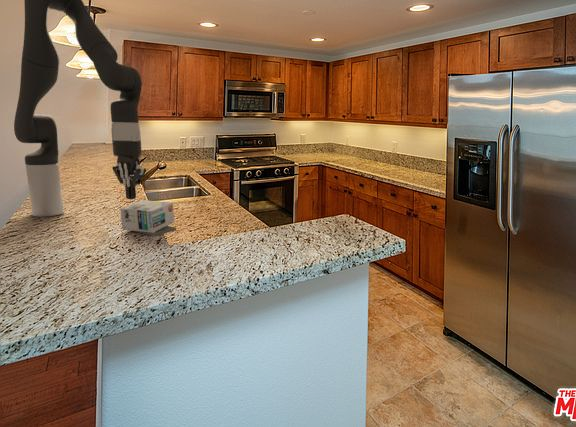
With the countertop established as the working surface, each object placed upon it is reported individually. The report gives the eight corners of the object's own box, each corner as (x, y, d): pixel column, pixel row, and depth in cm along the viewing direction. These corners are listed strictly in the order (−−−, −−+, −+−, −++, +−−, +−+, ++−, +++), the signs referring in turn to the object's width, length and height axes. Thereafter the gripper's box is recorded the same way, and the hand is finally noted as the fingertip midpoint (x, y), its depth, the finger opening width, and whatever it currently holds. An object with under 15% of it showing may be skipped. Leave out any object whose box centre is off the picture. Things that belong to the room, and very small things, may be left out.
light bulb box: (121, 230, 106) (153, 234, 103) (119, 207, 104) (151, 211, 101) (146, 219, 116) (175, 222, 113) (143, 199, 114) (173, 201, 111)
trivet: (131, 230, 108) (131, 228, 108) (154, 225, 115) (154, 222, 114) (153, 236, 103) (153, 233, 103) (176, 230, 109) (176, 227, 109)
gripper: (100, 138, 104) (106, 198, 108) (129, 139, 98) (134, 203, 101) (124, 138, 111) (128, 195, 114) (152, 139, 104) (156, 199, 108)
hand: (131, 198), depth 108 cm, fingers closed
